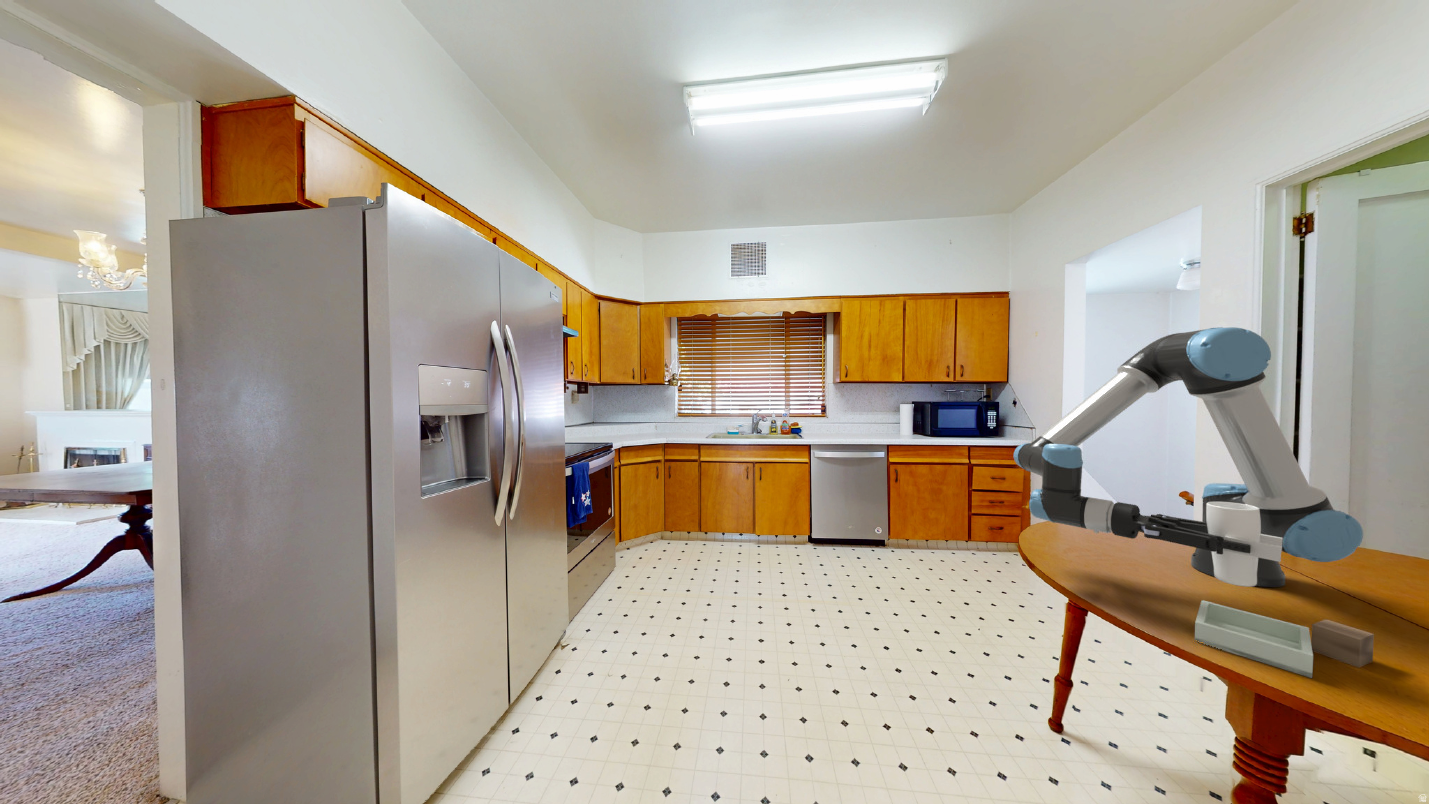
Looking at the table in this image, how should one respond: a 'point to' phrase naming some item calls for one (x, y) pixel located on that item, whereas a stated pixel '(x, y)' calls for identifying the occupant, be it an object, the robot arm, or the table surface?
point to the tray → (1255, 637)
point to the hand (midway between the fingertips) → (1281, 549)
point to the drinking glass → (1235, 524)
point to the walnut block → (1342, 643)
